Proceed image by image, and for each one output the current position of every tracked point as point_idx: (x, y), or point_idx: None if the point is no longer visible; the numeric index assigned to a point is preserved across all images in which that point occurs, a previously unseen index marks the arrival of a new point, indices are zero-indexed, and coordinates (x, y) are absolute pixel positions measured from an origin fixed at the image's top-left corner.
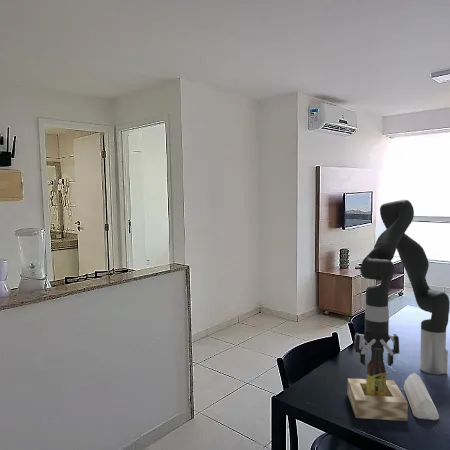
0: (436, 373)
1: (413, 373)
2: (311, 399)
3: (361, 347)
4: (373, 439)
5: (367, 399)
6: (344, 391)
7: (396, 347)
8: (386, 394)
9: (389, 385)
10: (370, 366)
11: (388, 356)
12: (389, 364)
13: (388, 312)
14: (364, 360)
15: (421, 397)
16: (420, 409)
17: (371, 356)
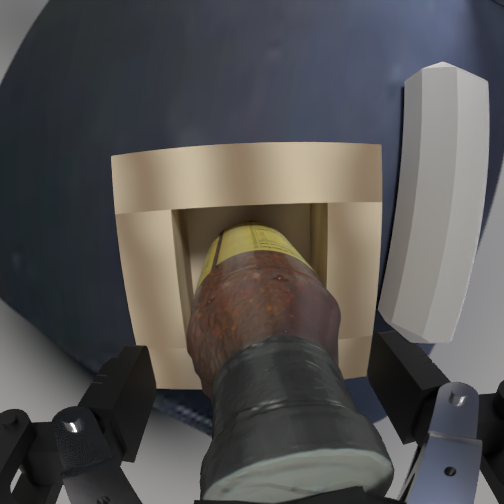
0: (501, 2)
1: (477, 79)
2: (19, 236)
3: (63, 459)
4: (211, 435)
5: (196, 381)
6: (131, 132)
7: (499, 487)
8: (315, 208)
9: (343, 215)
10: (205, 394)
11: (403, 406)
12: (374, 387)
13: None
14: (143, 420)
15: (438, 314)
16: (405, 334)
17: (213, 403)
